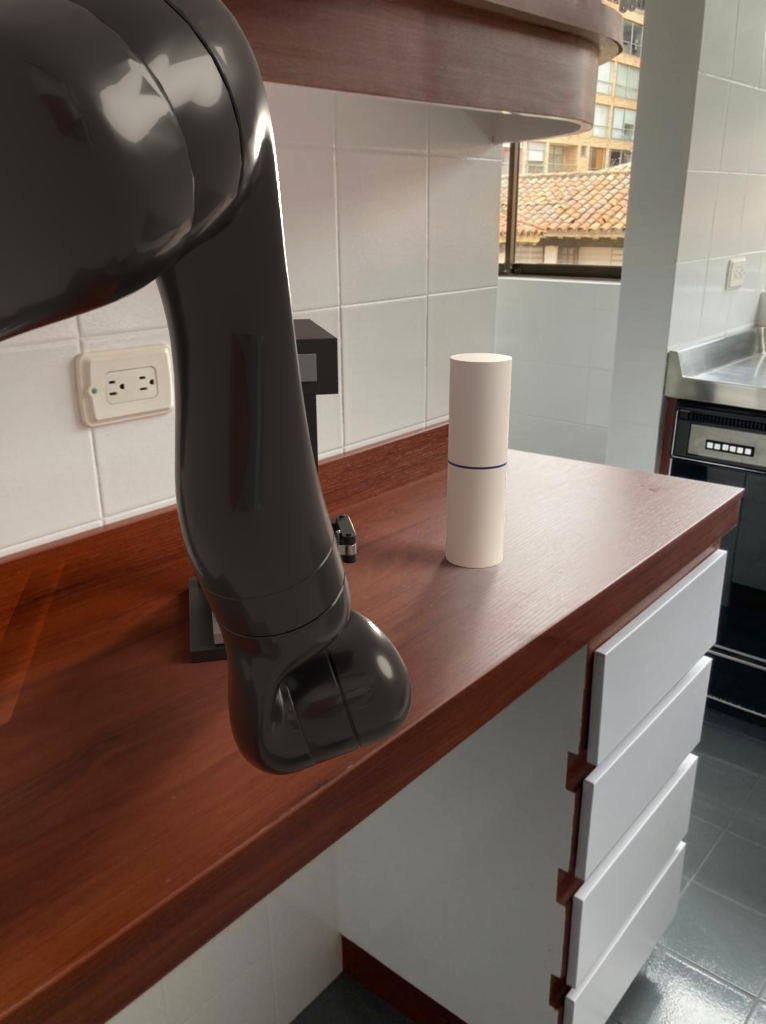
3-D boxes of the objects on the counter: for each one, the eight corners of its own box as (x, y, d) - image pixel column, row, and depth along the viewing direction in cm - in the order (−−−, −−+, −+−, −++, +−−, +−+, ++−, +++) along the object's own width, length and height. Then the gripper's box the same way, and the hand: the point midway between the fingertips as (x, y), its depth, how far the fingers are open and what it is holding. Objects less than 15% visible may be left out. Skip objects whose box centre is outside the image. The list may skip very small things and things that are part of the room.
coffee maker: (191, 663, 78) (162, 345, 68) (189, 587, 94) (166, 322, 85) (355, 644, 81) (350, 339, 71) (326, 574, 98) (319, 318, 88)
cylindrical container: (440, 564, 100) (444, 360, 92) (451, 544, 107) (456, 352, 99) (498, 570, 99) (507, 363, 90) (506, 549, 105) (515, 354, 97)
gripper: (375, 531, 63) (338, 473, 78) (186, 547, 60) (185, 484, 75) (376, 618, 65) (339, 546, 80) (194, 638, 62) (191, 559, 77)
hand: (265, 516), depth 78 cm, fingers open, 8 cm apart
